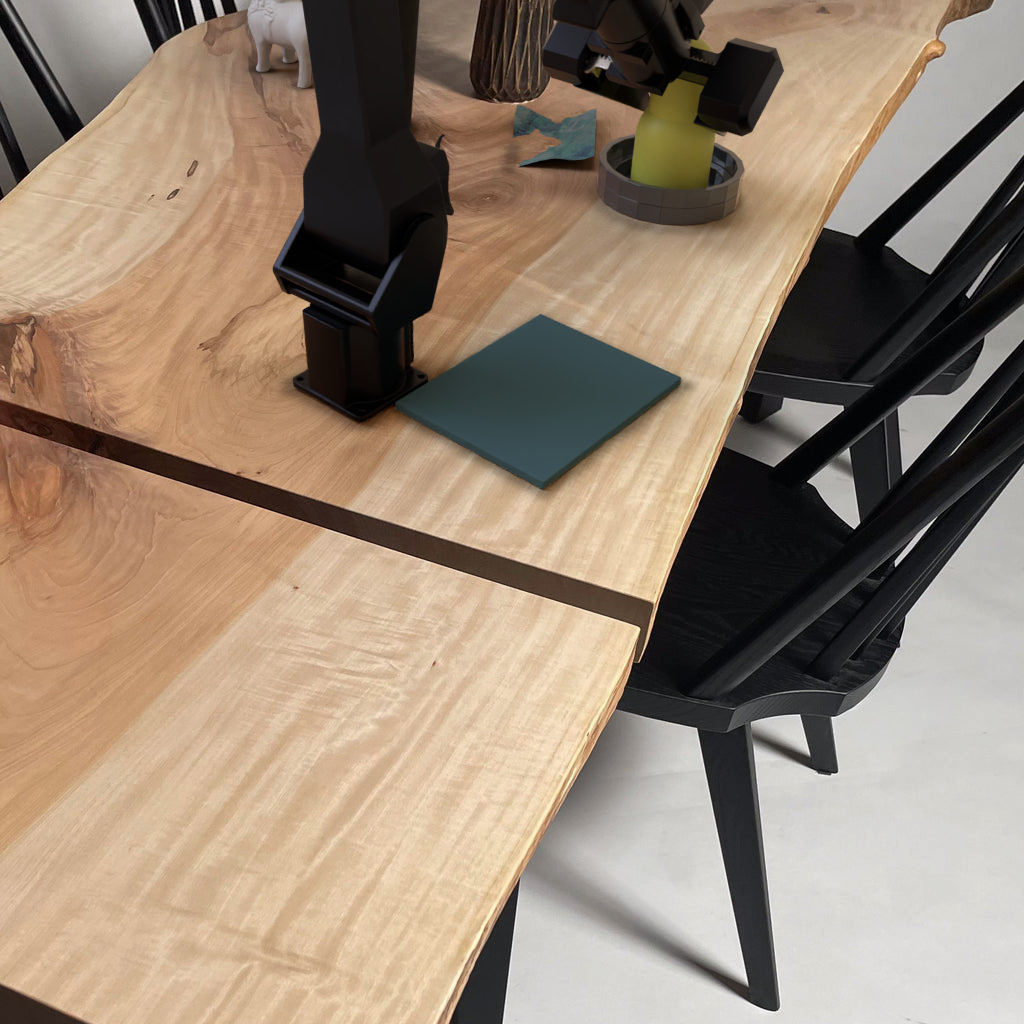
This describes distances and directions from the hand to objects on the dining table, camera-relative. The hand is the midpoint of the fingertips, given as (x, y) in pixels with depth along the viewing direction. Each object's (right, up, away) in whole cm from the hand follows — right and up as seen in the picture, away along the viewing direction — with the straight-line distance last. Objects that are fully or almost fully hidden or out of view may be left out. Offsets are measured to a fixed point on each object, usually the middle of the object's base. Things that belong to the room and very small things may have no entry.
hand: (685, 118), depth 92 cm
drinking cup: (-27, +3, +13) cm, 30 cm away
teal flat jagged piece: (-11, +1, +11) cm, 16 cm away
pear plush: (-1, -5, +3) cm, 6 cm away
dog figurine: (-38, +13, +24) cm, 47 cm away
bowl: (-1, -6, +4) cm, 7 cm away
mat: (-13, -25, -20) cm, 35 cm away
